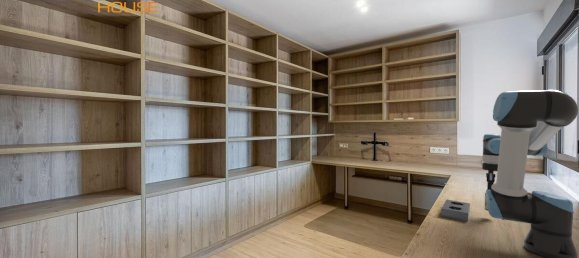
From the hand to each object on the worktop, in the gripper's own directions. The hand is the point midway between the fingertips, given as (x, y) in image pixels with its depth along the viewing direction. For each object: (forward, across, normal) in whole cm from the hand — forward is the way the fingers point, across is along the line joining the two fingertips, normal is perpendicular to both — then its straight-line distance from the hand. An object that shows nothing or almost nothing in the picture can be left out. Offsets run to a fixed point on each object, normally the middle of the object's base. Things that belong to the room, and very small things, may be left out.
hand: (489, 206), depth 140 cm
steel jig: (+7, -3, +15) cm, 17 cm away
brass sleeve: (+2, 0, 0) cm, 2 cm away
